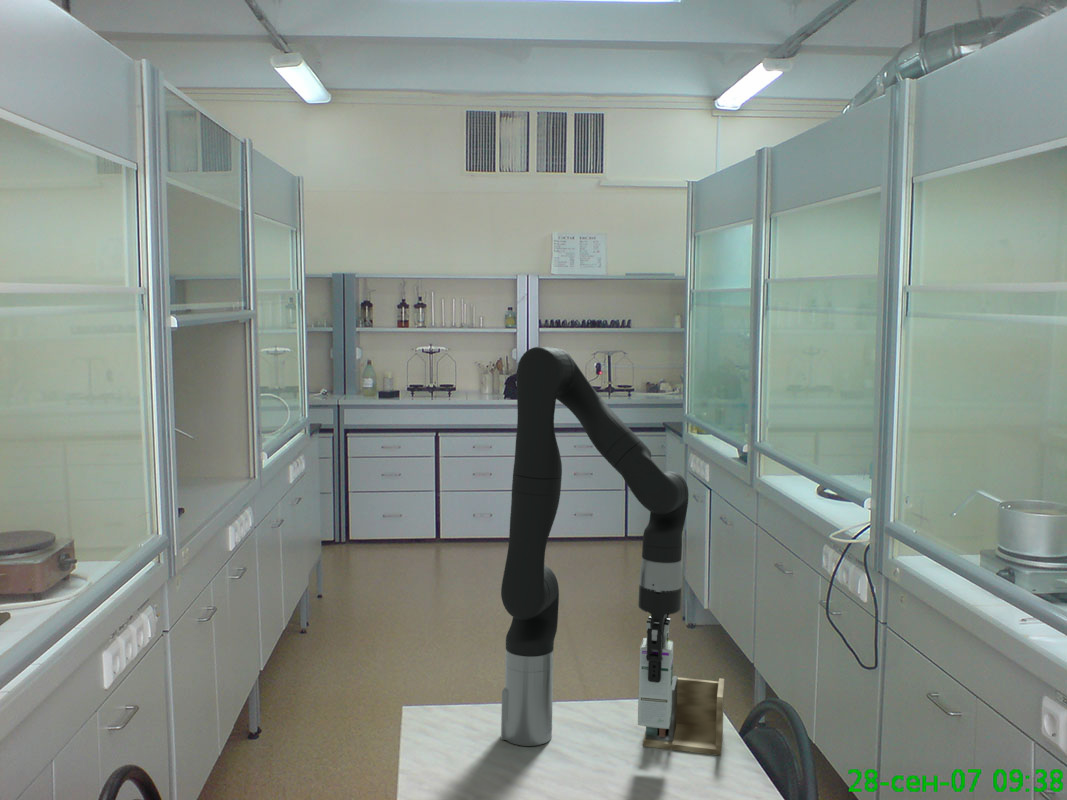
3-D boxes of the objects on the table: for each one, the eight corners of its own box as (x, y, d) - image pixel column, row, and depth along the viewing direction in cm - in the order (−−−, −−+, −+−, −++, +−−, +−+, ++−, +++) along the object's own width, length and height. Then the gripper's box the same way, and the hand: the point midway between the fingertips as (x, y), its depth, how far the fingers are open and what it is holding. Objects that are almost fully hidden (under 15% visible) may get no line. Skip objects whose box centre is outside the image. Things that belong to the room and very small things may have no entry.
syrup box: (669, 729, 161) (673, 649, 160) (636, 725, 162) (639, 646, 161) (671, 717, 167) (675, 639, 166) (639, 713, 168) (642, 636, 167)
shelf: (642, 746, 172) (644, 682, 172) (649, 723, 183) (651, 663, 182) (720, 755, 169) (722, 690, 168) (722, 731, 179) (724, 670, 179)
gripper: (644, 572, 171) (640, 660, 172) (634, 591, 157) (630, 686, 158) (684, 576, 169) (680, 664, 170) (678, 595, 155) (673, 692, 156)
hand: (656, 674), depth 164 cm, fingers closed on syrup box, 5 cm apart
